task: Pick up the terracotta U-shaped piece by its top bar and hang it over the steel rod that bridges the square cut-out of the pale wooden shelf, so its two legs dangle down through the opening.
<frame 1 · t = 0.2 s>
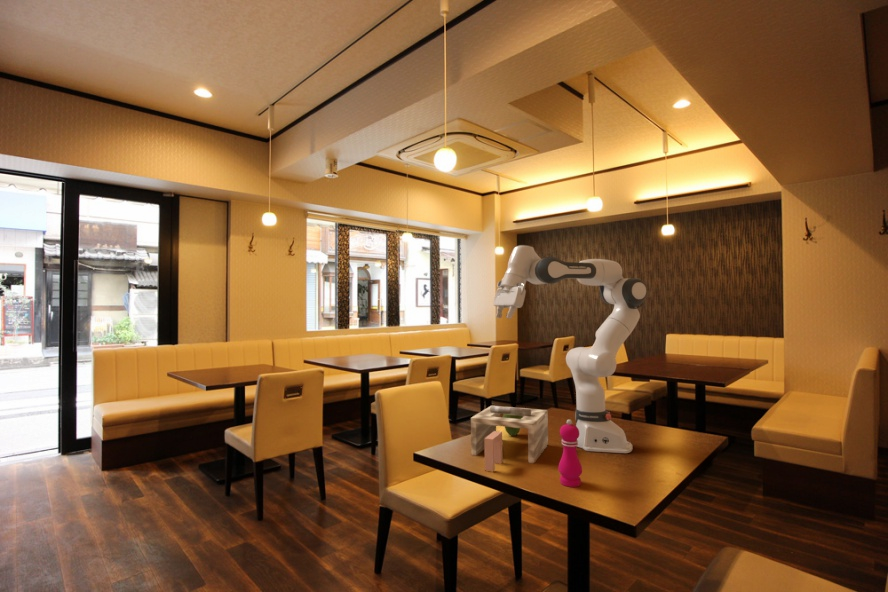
hand: (503, 318, 175), 52 cm above the table, tool tilted 20°, fingers open, 8 cm apart
u piece: (493, 466, 159), on the table
shelf: (510, 449, 178), on the table
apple: (512, 436, 199), on the table
pepper mill: (570, 483, 143), on the table
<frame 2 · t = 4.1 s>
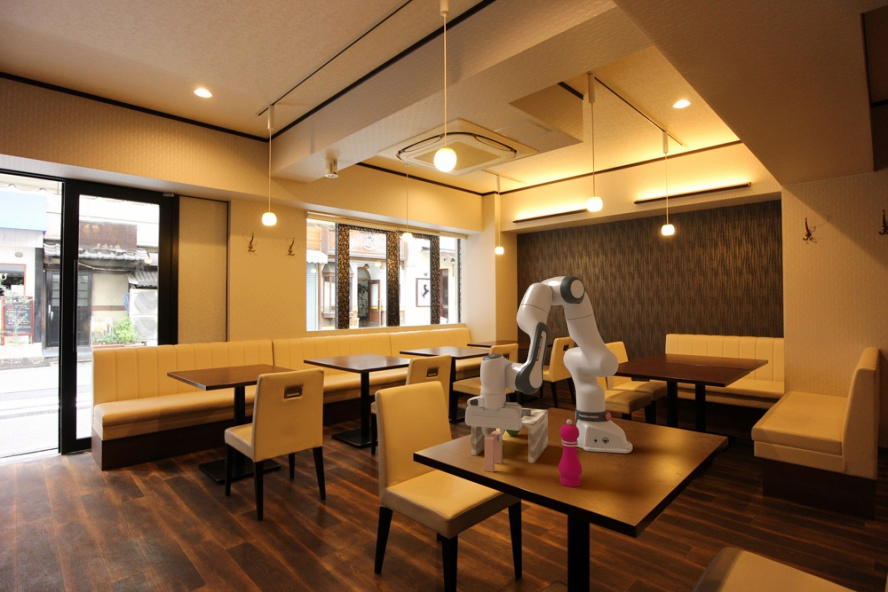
hand: (493, 440, 160), 9 cm above the table, tool pointing down, fingers closed on u piece, 3 cm apart
u piece: (493, 466, 159), on the table, touching gripper
everything else where it was.
when the fingers open (17 cm above the table, at t = 10.5 s): u piece stays where it is, resting on shelf.
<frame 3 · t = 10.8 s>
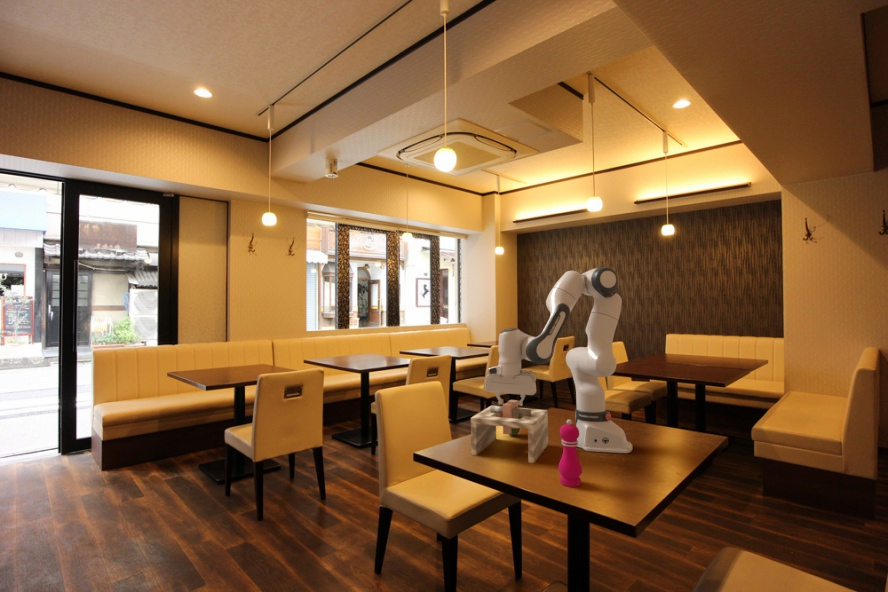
hand: (510, 404, 179), 17 cm above the table, tool pointing down, fingers open, 6 cm apart
u piece: (510, 430, 179), point 7 cm above the table, touching shelf
everything else where it was.
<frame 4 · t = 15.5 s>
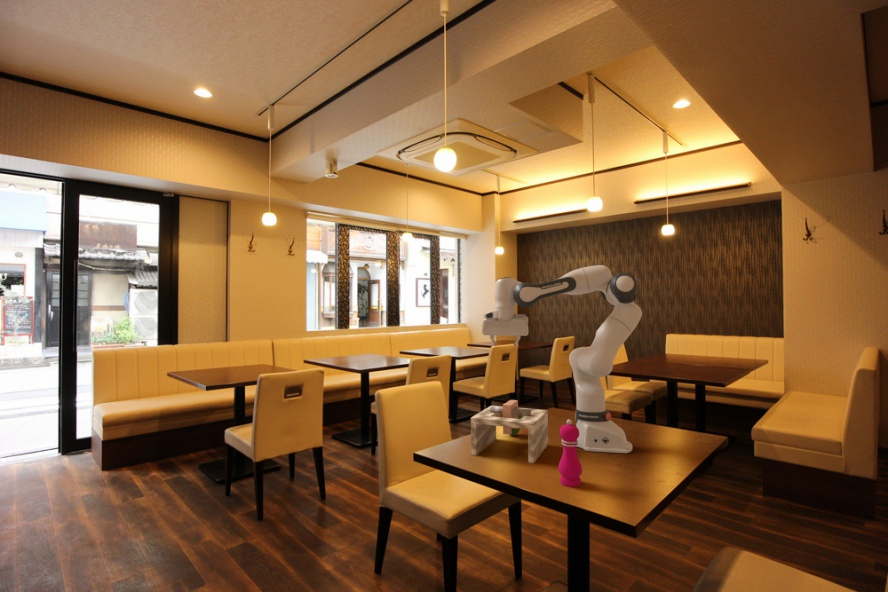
hand: (505, 346, 198), 39 cm above the table, tool pointing down, fingers open, 8 cm apart
nothing on the table moved.
at the end: u piece 0.1 cm off-centre on the shelf, point 7.4 cm above the shelf's base; u piece touching shelf; u piece tilted 0° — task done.
